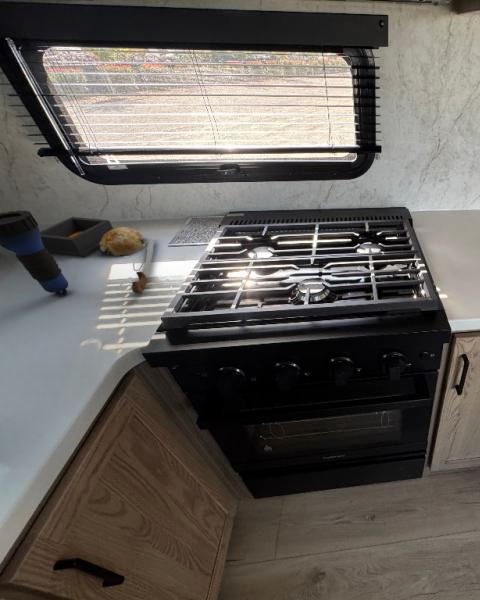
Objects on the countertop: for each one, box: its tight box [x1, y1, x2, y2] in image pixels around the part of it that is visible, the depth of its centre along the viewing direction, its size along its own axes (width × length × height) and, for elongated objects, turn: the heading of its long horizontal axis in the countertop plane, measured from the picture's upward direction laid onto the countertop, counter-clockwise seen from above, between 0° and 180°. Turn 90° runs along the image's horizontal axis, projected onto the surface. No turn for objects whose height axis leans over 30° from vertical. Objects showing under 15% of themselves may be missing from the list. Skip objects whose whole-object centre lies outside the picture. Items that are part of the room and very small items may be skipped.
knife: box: [131, 239, 155, 294], centre depth 91 cm, size 4×1×30 cm
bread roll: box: [99, 226, 146, 257], centre depth 99 cm, size 10×10×8 cm
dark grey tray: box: [40, 216, 114, 258], centre depth 100 cm, size 15×13×6 cm
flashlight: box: [0, 210, 69, 297], centre depth 76 cm, size 8×8×20 cm
